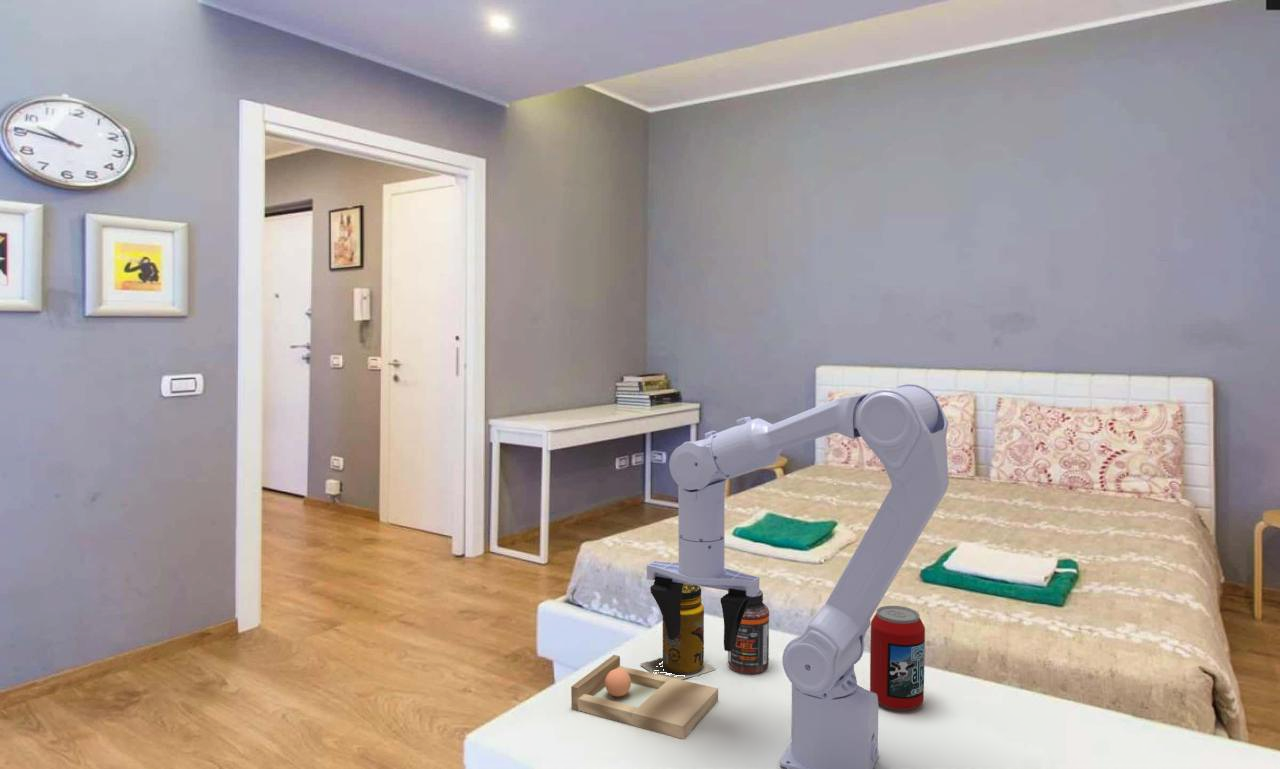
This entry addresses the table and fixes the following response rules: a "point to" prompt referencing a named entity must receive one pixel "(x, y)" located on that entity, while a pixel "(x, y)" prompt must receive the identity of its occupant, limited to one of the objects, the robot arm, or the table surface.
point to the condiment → (684, 640)
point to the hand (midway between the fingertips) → (701, 642)
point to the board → (645, 700)
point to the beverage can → (897, 657)
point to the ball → (617, 682)
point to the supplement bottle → (752, 639)
